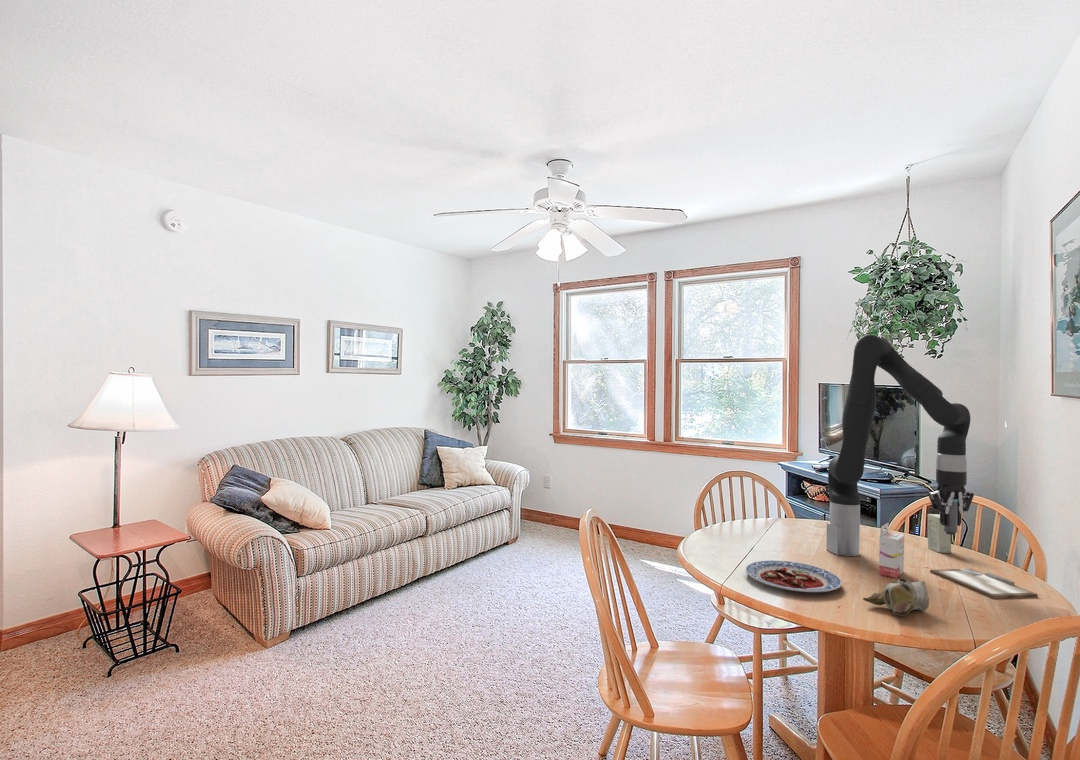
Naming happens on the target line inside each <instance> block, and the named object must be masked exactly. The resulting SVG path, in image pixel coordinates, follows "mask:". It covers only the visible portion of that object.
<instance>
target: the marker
mask: <svg viewBox="0 0 1080 760" xmlns="http://www.w3.org/2000/svg"><path fill="white" fill-rule="evenodd" d="M944 503H947V502H945V501H944ZM944 509H945V505H944ZM948 514H949V526H944V531H946V534H949V535H951V536H956V534H957V533H958V532H959V531H958V529H959V528H958V527H959V526H958V499H953V501H952V506H951V507H950V508H949V513H948Z"/></svg>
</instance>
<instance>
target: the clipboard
mask: <svg viewBox="0 0 1080 760" xmlns="http://www.w3.org/2000/svg"><path fill="white" fill-rule="evenodd" d="M929 572H930V574H933V575H935V576H938V577H941V578H942V579H945V580H948V581H949V582H951V583H954V584H957V585H959V586H961V587H964V588H965V589H968V590H970V591H973V592H975V593H978V594H980V595H983V596H985V597H987V598H990V599H1015V598H1016V599H1018V598H1019V599H1020V598H1021V599H1022V598H1038V597H1039V595H1038V593H1036V592H1033V591H1030V590H1028V589H1025V588H1022V587H1020V586H1018V585H1015V581H1013V580H1010V579H1008V578H1005V577H1002V576H999V575H997V574H994V573H992V572H985V573H983V572H981V571H978V570H975V569H973V568H946V569H945V568H944V569H942V568H941V569H930V570H929Z"/></svg>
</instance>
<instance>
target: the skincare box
mask: <svg viewBox="0 0 1080 760" xmlns="http://www.w3.org/2000/svg"><path fill="white" fill-rule="evenodd" d="M927 548H928V549H929V550H933V551H934V552H937V553H945V554H946V553H947V554H949V553H950V554H951V553H952V535H949V534H946V531H944V525H941V523H940V513H939V514H937V513H934V514H933V513H928V514H927Z"/></svg>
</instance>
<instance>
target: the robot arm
mask: <svg viewBox="0 0 1080 760" xmlns="http://www.w3.org/2000/svg"><path fill="white" fill-rule="evenodd" d="M877 367H878V368H880V369H882V370H883V371H885V372H887V373H888V375H890V376H891V377H892V378H893V379H894V380H895V381H896V382H897V383H898V384H899V386H900V387H901V388H902V390H904V391H905V392H906V393H907V394H908V395H909V396H910V397H911V398H912V399H914V401H916V402H917V403H918V404H920V405H921V406H922V408H923V409H924V411H925V412H926V413H927V415H928V416H929V417H930V418H931V419H932V420H933V421H934V422H935V423H937V424H938V425H940V426H941V427H942V426H943V431H942V433H941V434H940V435H939V436H938V437H937V445H936V446H937V447H936V448H937V449H936V451H937V453H936V458H935V459H936V460H935V461H936V462H935V482H936V484H937V487H936V490H934V491H929V492H928V494H927V495H928V497H929V498H928V499H929V501H930V503H931V507H932V509H933V510H934V511H936V512H938V513H939V514H940V523H941V525H944V526H949V514H948V513H949V508H950V507H951V506H952V501H953V499H958V527H961V524H962V523H963V522H962V514H963V513H964V512H967V513H968V511H969V510H970V506H971V504H972V501H973V498H974V497H975V494H974V493H973V492H971V491H967V490H966V488H965V487H966V486H967V483H968V481H967V480H968V479H967V477H968V476H967V471H968V470H967V468H968V463H967V453H966V452H967V450H966V449H967V447H966V445H967V444H966V443H967V442H966V441H967V437H968V435H969V429H970V426H971V413H970V410H969V409H968V407H967V406H965V405H964V404H961V403H957V402H956V403H954V402H953V403H951V402H950V401H948V400H947V399H946V398H945V397H944V396H943V391H942V390H941V389H940V388H939V387H938V386H936V384H934V383H933V382H932V381H931V380H929V379H928V378H927V377H925V376H924V375H923V374H922V373H920V372H919V371H918V370H916V369H915V368H914V367H912V366H911V365H910V364H909V363H908V362H907V361H906V360H905V359H904V358H903V357H902V356H901V355H900V354H899V353H898V351H897V350H896V349H895V348H894V347H893V346H892V345H891V344H890V342H889V341H888V340H886V339H885V338H883V337H880V336H877V335H874V334H865V335H863V336H861V337H860V338H859V339H858V340H857V341H856V343H855V345H854V350H853V358H852V369H851V377H850V380H849V385H848V390H847V393H846V399H845V403H844V406H843V411H842V416H841V417H842V423H841V424H842V427H841V428H842V443H841V448H840V451H839V454H838V455H836V456H834V457H833V458H832V459H831V460H829V464H828V468H827V477H828V478H827V481H828V483H827V484H828V485H827V488H828V494H829V522H827V523H826V550H827V551H828V552H829V553H830V552H831V553H832V554H834V555H836V556H845V557H846V556H847V557H857V556H859V555H860V543H861V541H860V537H861V535H860V534H861V533H860V532H861V530H860V529H861V527H860V525H861V524H860V523H861V496H860V493H859V490H858V489H859V488H858V482H859V481H861V479H862V478H863V475H864V470H865V462H866V461H865V460H866V459H865V458H866V451H867V450H866V449H867V444H868V441H869V439H870V434H871V429H872V427H873V426H872V425H873V420H874V418H875V413H876V409H877V408H876V407H877V392H876V391H877V390H876V385H875V378H876V377H875V376H876V372H877V371H876V370H877ZM944 501H945V502H947V503H944ZM944 505H945V509H944Z"/></svg>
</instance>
